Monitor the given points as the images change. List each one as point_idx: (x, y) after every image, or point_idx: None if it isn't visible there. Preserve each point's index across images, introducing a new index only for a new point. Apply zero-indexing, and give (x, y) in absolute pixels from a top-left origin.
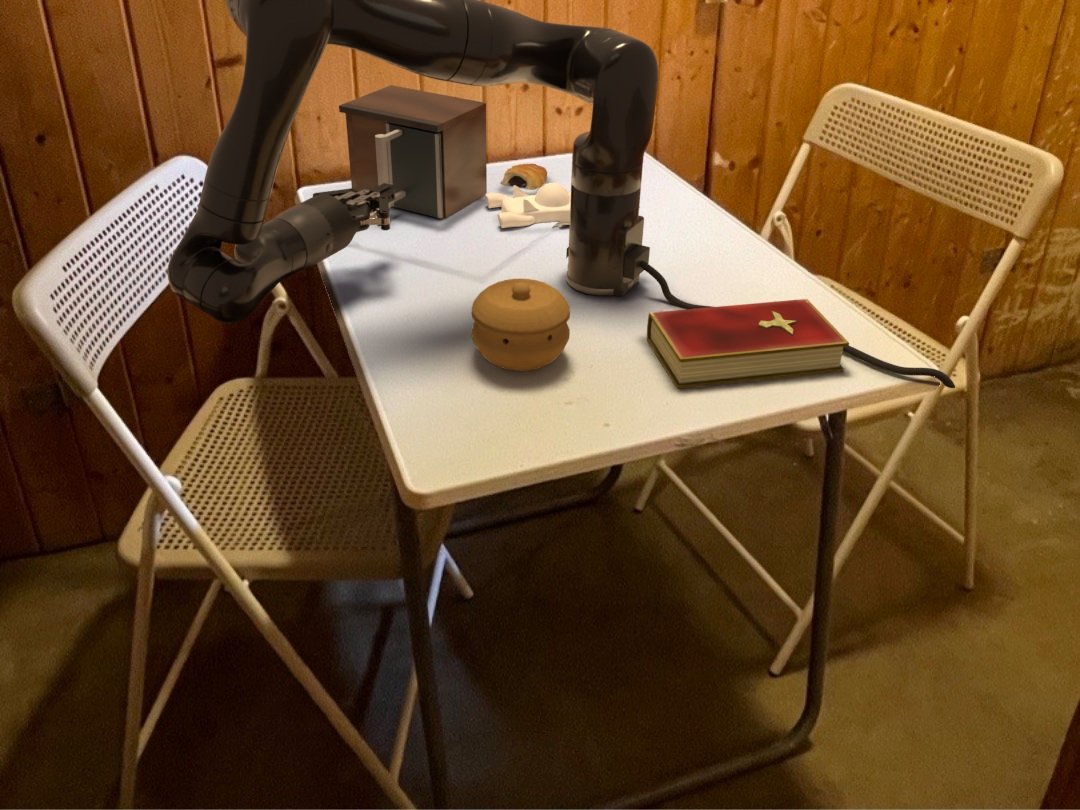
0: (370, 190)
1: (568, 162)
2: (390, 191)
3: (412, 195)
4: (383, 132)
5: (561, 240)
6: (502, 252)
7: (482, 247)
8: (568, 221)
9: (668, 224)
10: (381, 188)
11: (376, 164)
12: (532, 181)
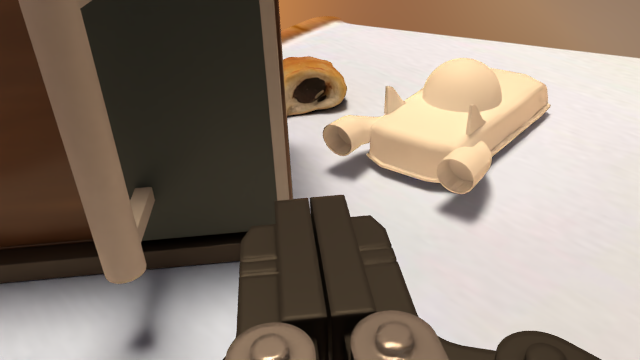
0: (291, 319)
1: (299, 53)
2: (384, 247)
3: (180, 192)
4: (8, 10)
5: (565, 172)
6: (548, 262)
7: (482, 269)
8: (514, 129)
9: (605, 86)
10: (334, 255)
11: (7, 133)
12: (341, 81)
